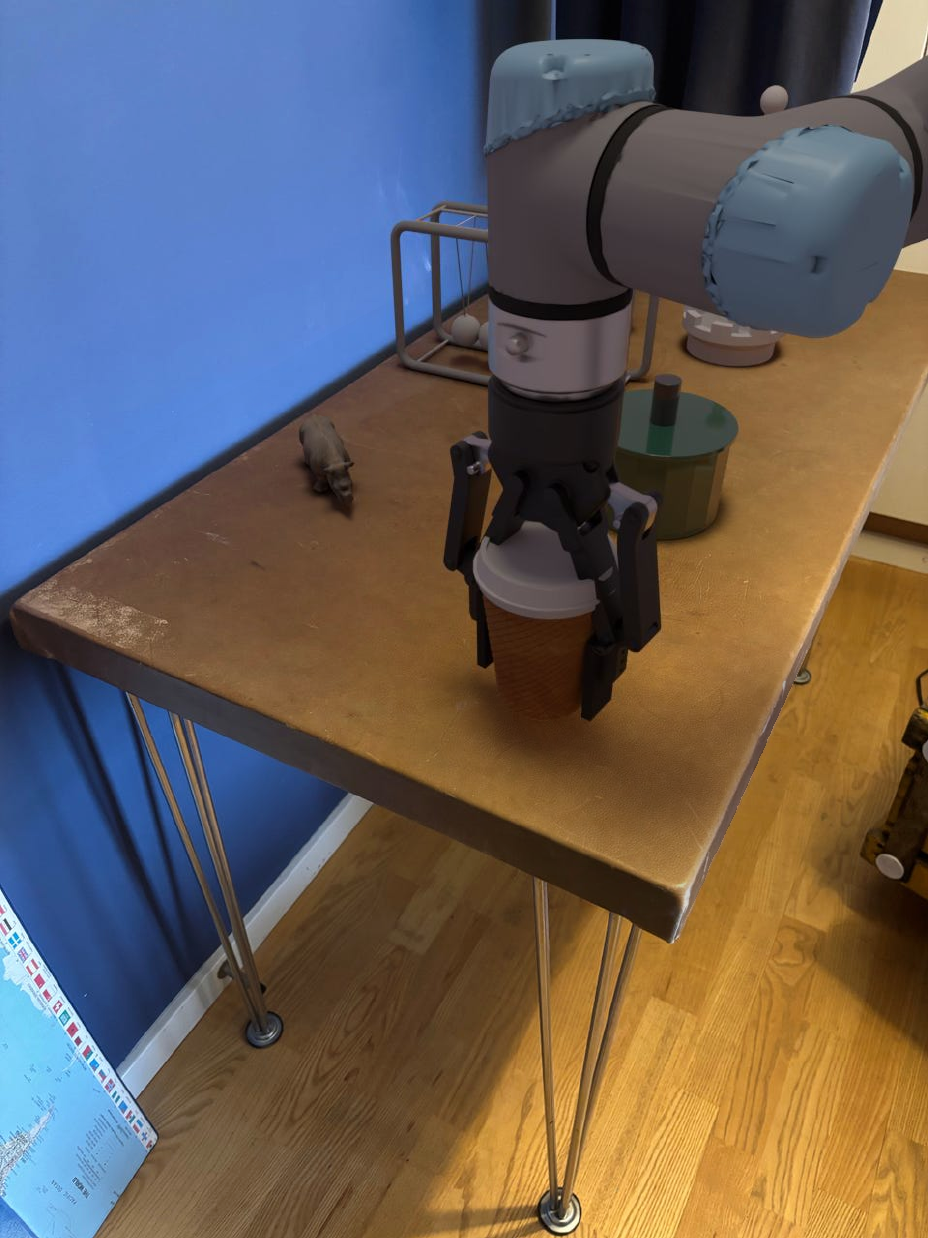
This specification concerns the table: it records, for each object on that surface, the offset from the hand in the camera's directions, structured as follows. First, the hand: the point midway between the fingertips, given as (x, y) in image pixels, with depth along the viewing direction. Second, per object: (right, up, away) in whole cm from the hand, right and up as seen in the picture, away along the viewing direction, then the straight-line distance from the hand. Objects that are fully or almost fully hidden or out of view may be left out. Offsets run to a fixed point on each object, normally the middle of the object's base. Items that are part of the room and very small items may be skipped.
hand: (542, 681), depth 64 cm
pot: (+13, +16, +25) cm, 32 cm away
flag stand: (+29, +40, +55) cm, 74 cm away
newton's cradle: (+2, +35, +49) cm, 60 cm away
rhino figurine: (-19, +18, +28) cm, 38 cm away
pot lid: (+13, +22, +20) cm, 32 cm away
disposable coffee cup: (0, -1, +1) cm, 1 cm away
